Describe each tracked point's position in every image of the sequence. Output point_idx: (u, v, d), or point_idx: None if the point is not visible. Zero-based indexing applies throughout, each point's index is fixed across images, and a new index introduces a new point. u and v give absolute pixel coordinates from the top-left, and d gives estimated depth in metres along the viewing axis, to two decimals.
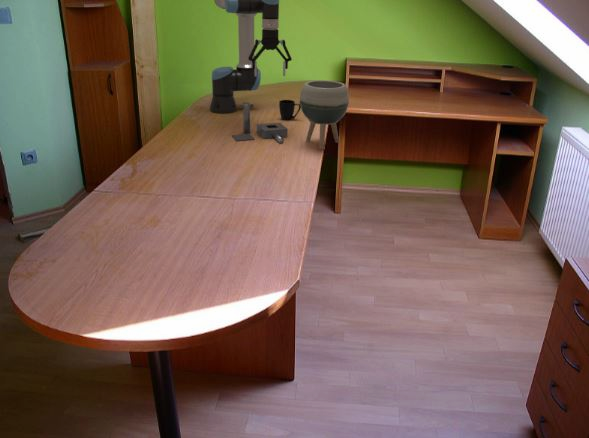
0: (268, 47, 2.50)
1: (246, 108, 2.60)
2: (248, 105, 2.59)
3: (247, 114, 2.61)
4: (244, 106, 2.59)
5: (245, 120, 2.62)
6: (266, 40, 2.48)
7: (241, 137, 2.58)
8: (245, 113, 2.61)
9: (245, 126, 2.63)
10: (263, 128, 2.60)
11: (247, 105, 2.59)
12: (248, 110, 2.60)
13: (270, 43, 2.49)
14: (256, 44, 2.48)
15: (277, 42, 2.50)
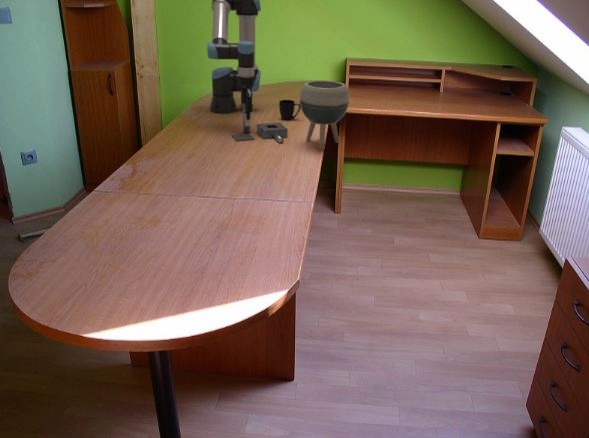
0: None
1: None
2: None
3: None
4: (244, 106, 2.59)
5: None
6: (242, 84, 2.58)
7: (241, 137, 2.58)
8: None
9: (245, 126, 2.63)
10: (263, 128, 2.60)
11: None
12: None
13: None
14: (241, 91, 2.63)
15: (245, 90, 2.54)
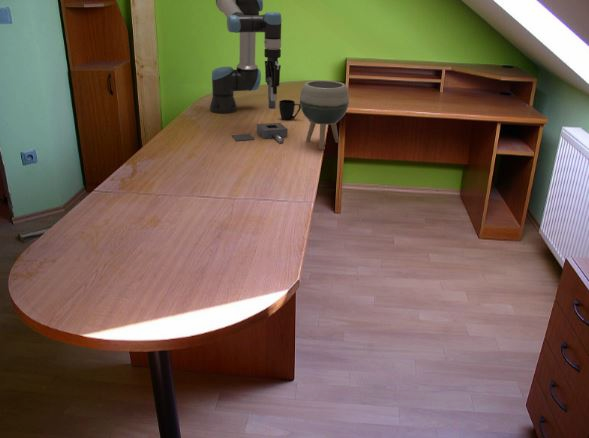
0: (269, 66, 2.51)
1: None
2: None
3: None
4: (270, 80, 2.52)
5: None
6: (268, 57, 2.51)
7: (241, 137, 2.58)
8: None
9: (271, 101, 2.56)
10: (263, 128, 2.60)
11: None
12: None
13: None
14: (265, 65, 2.55)
15: (273, 62, 2.47)
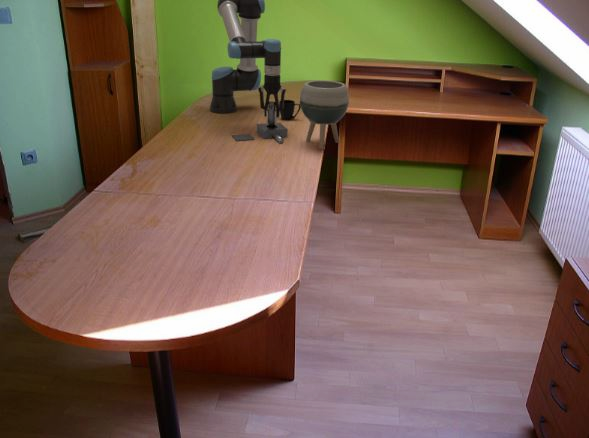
0: (269, 92, 2.55)
1: (275, 106, 2.58)
2: None
3: None
4: (273, 105, 2.57)
5: (274, 119, 2.60)
6: (266, 84, 2.54)
7: (241, 137, 2.58)
8: (274, 112, 2.59)
9: (274, 125, 2.62)
10: (263, 128, 2.60)
11: None
12: None
13: (271, 88, 2.54)
14: (260, 92, 2.56)
15: (278, 88, 2.54)
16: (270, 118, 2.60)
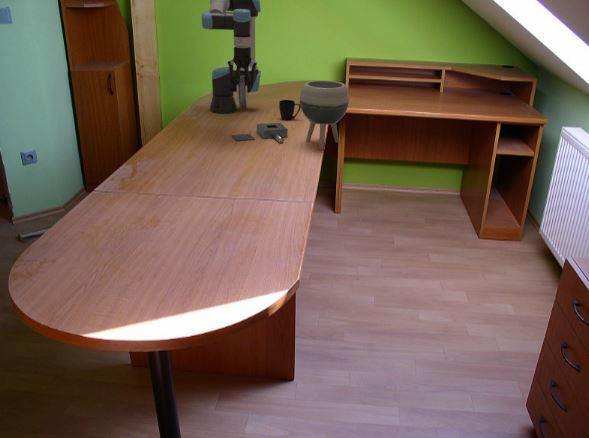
0: (239, 65, 2.43)
1: (245, 81, 2.46)
2: None
3: None
4: (243, 79, 2.45)
5: (245, 94, 2.48)
6: (236, 57, 2.42)
7: (241, 137, 2.58)
8: None
9: (245, 100, 2.50)
10: (263, 128, 2.60)
11: None
12: None
13: (241, 61, 2.42)
14: (229, 65, 2.44)
15: (248, 61, 2.42)
16: (241, 93, 2.48)
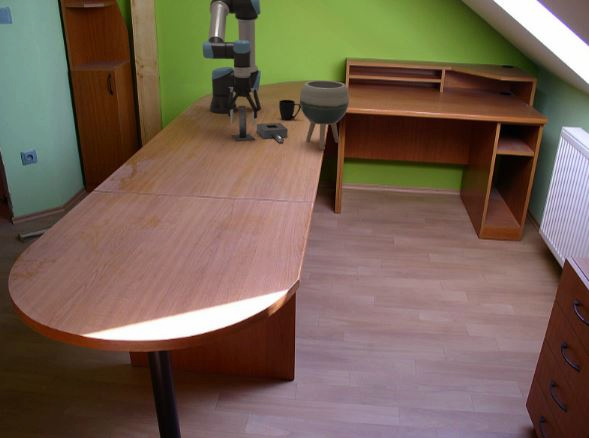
0: (239, 94, 2.49)
1: (245, 111, 2.52)
2: None
3: None
4: (243, 109, 2.51)
5: (245, 124, 2.54)
6: (237, 87, 2.47)
7: None
8: (245, 116, 2.53)
9: (245, 130, 2.55)
10: (263, 128, 2.60)
11: None
12: None
13: (241, 90, 2.48)
14: (228, 92, 2.49)
15: (248, 90, 2.47)
16: (241, 123, 2.54)
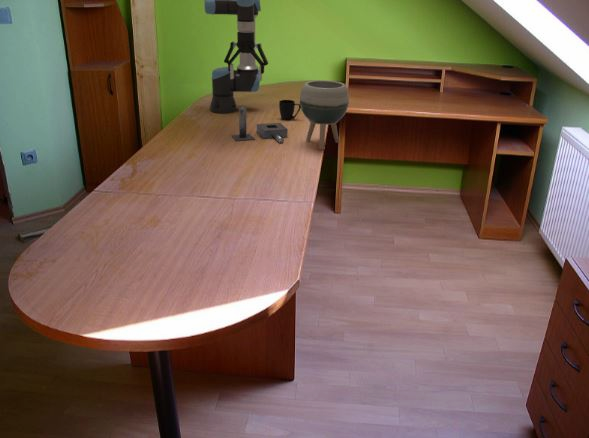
0: (243, 50, 2.43)
1: (245, 111, 2.52)
2: None
3: None
4: (243, 109, 2.51)
5: (245, 124, 2.54)
6: (241, 43, 2.42)
7: None
8: (245, 116, 2.53)
9: (245, 130, 2.55)
10: (263, 128, 2.60)
11: None
12: None
13: (245, 46, 2.42)
14: (231, 46, 2.43)
15: (252, 45, 2.42)
16: (241, 123, 2.54)
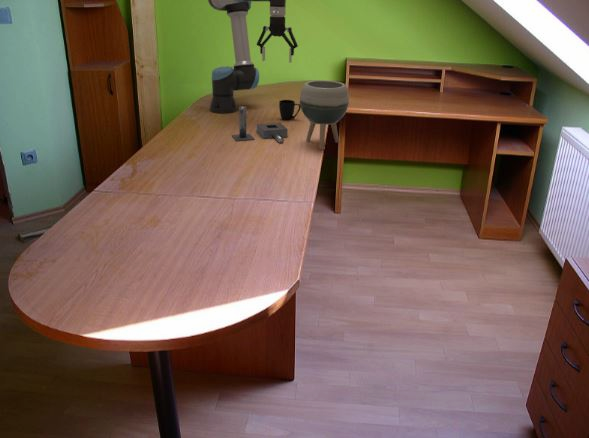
0: (275, 33, 2.63)
1: (245, 111, 2.52)
2: None
3: None
4: (243, 109, 2.51)
5: (245, 124, 2.54)
6: (273, 27, 2.61)
7: None
8: (245, 116, 2.53)
9: (245, 130, 2.55)
10: (263, 128, 2.60)
11: None
12: None
13: (276, 30, 2.62)
14: (263, 30, 2.63)
15: (283, 29, 2.61)
16: (241, 123, 2.54)
